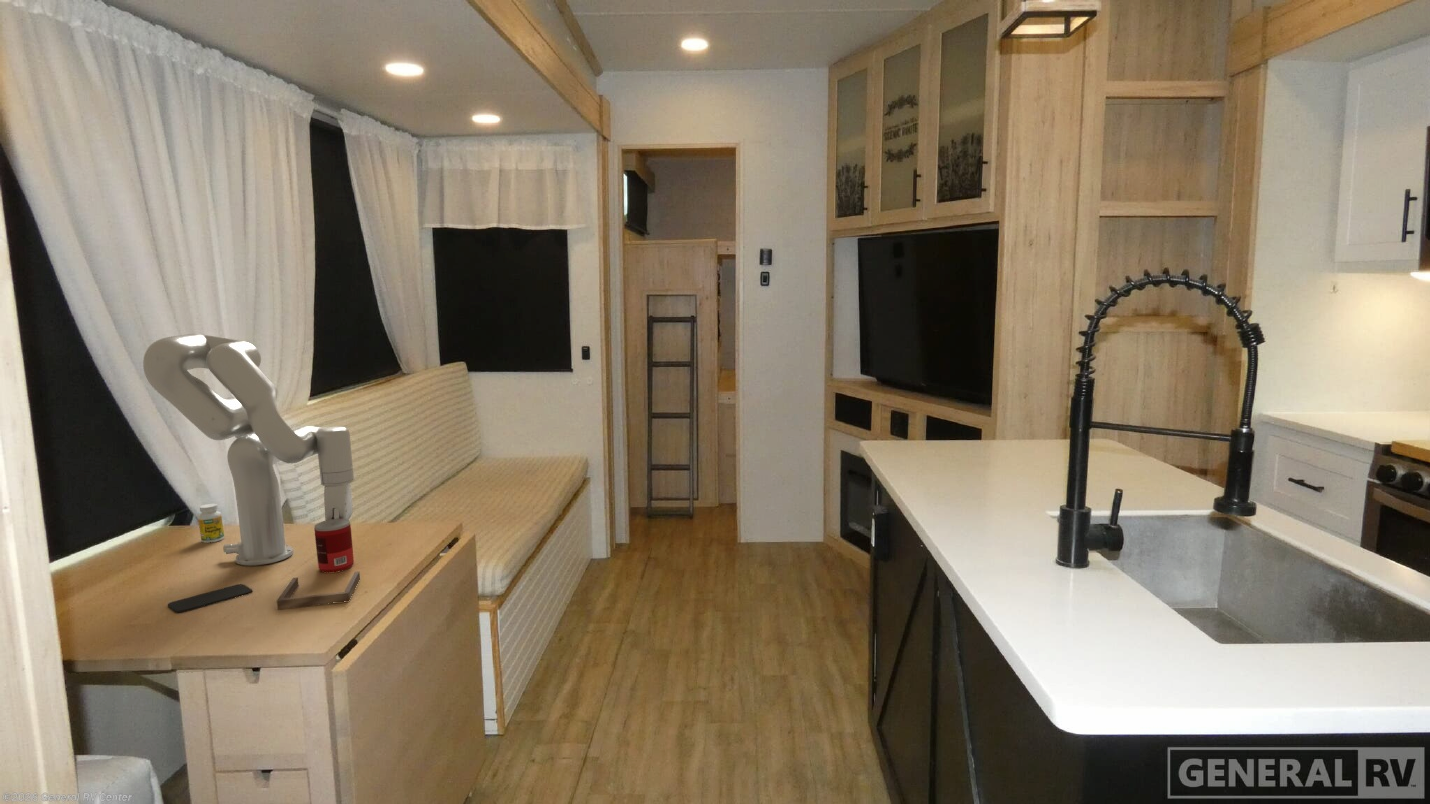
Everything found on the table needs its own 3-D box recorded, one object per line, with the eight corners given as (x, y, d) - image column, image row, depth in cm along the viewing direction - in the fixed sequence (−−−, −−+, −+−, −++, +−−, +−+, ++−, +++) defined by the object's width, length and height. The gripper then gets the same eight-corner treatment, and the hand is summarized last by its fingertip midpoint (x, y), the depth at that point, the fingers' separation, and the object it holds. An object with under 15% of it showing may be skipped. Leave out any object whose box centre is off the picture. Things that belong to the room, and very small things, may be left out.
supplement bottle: (221, 535, 223) (217, 501, 222) (226, 539, 220) (222, 505, 218) (198, 540, 220) (194, 505, 218) (203, 544, 216) (199, 509, 214)
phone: (254, 590, 182) (177, 612, 171) (254, 594, 182) (177, 615, 171) (241, 583, 187) (165, 603, 176) (241, 586, 187) (166, 607, 176)
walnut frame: (277, 609, 172) (276, 600, 172) (293, 586, 185) (292, 577, 185) (349, 601, 175) (348, 593, 175) (360, 579, 188) (359, 571, 188)
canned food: (360, 561, 200) (356, 518, 199) (342, 573, 192) (338, 528, 191) (330, 561, 201) (326, 518, 199) (311, 573, 193) (307, 528, 191)
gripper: (327, 471, 209) (333, 539, 212) (313, 485, 195) (321, 559, 198) (358, 468, 211) (364, 537, 214) (347, 482, 197) (354, 555, 200)
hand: (343, 547), depth 206 cm, fingers closed
